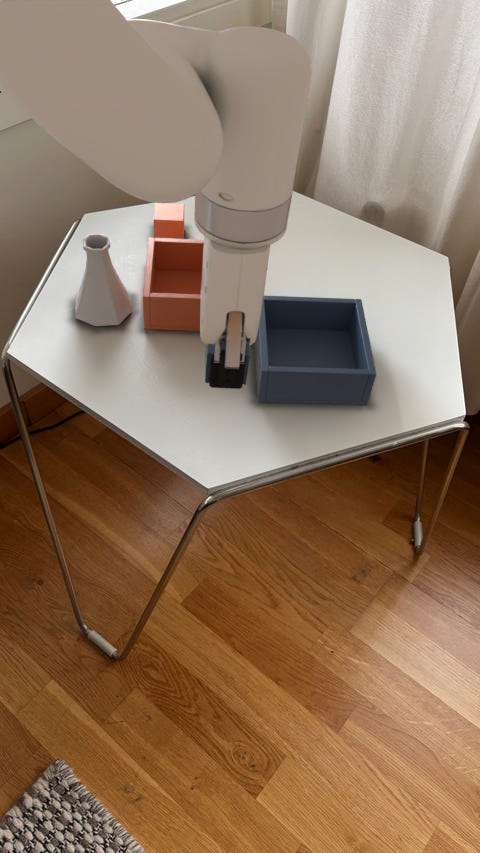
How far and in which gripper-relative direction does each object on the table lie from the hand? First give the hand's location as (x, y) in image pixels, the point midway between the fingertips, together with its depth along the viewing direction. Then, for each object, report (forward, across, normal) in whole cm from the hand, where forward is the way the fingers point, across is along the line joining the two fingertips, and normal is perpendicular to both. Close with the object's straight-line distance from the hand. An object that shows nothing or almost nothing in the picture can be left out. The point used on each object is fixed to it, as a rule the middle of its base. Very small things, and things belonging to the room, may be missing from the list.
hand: (225, 367), depth 70 cm
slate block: (0, 0, 0) cm, 0 cm away
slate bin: (+9, -11, +11) cm, 18 cm away
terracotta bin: (+10, -22, -3) cm, 24 cm away
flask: (+10, -19, -14) cm, 26 cm away
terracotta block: (+10, -35, -7) cm, 37 cm away
